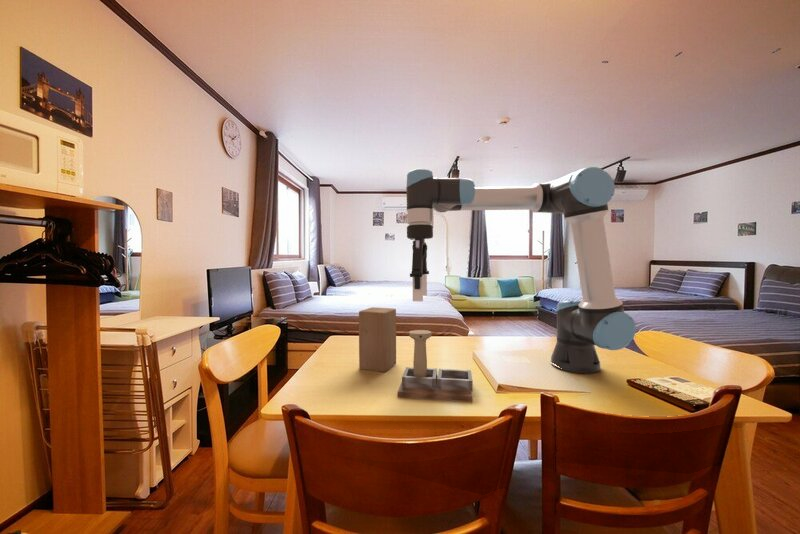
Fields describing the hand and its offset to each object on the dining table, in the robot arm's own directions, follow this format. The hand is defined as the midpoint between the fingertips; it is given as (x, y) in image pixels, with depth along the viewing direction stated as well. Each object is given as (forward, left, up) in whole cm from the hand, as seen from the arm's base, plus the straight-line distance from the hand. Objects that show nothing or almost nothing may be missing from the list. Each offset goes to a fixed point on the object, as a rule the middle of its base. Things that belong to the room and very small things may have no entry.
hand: (420, 298), depth 95 cm
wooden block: (+17, -17, -27) cm, 36 cm away
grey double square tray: (-4, 0, -26) cm, 27 cm away
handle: (0, 0, -25) cm, 25 cm away
